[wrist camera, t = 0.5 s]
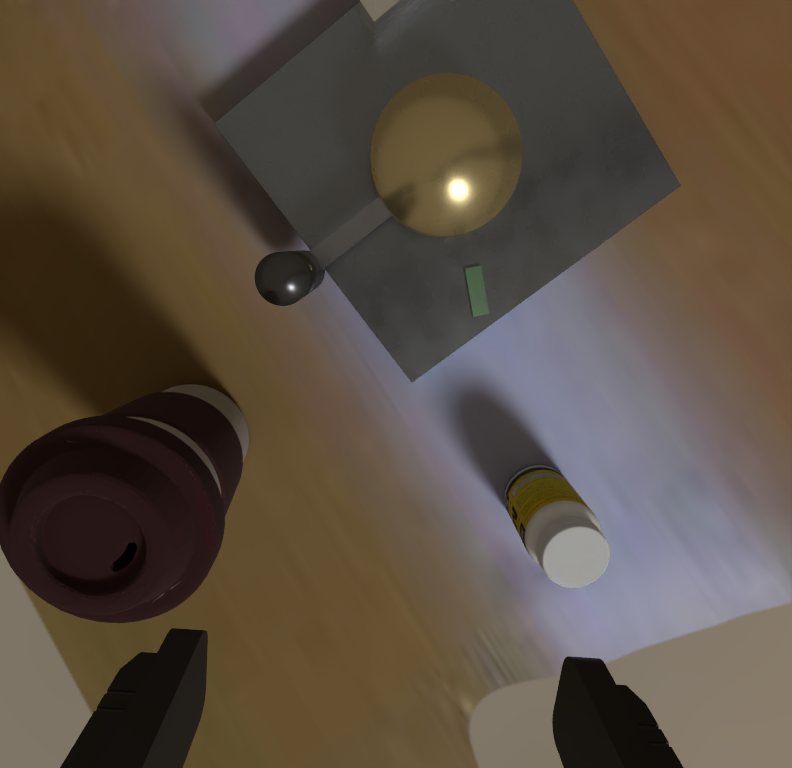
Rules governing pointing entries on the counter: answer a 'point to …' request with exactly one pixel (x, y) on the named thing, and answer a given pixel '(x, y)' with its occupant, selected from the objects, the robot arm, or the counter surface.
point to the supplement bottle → (556, 526)
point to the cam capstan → (419, 175)
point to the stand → (534, 193)
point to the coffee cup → (125, 504)
